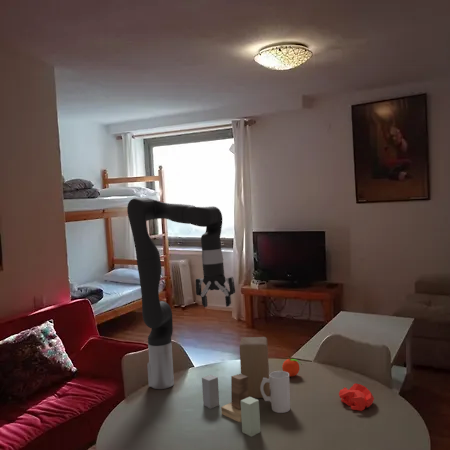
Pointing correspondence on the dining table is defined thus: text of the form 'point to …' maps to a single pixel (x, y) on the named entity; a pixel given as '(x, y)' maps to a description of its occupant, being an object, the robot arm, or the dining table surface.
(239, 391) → the walnut post
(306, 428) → the dining table surface
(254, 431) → the sage post
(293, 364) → the clementine
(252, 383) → the wooden block
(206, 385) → the grey post
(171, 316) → the robot arm
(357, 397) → the animal figurine
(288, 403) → the mug
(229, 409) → the oak slab
